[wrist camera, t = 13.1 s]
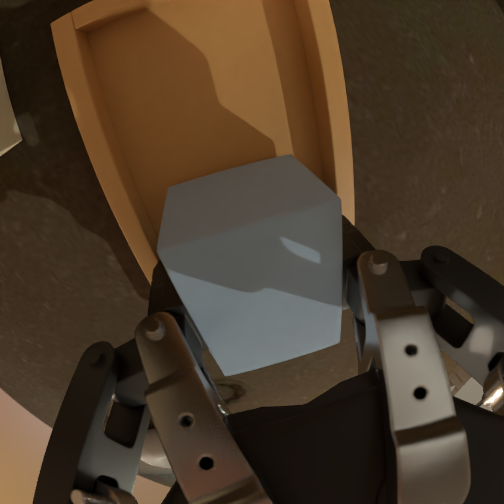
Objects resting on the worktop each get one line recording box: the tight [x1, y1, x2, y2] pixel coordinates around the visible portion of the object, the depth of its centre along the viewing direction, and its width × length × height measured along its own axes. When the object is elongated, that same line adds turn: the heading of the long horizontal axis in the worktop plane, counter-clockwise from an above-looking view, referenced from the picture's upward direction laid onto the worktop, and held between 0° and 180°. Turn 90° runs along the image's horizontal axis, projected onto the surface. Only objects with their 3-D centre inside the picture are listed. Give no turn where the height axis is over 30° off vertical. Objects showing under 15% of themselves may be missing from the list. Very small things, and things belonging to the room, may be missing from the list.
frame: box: [51, 0, 354, 285], centre depth 10 cm, size 9×15×2 cm, turn 11°
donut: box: [140, 428, 171, 468], centre depth 24 cm, size 10×3×10 cm
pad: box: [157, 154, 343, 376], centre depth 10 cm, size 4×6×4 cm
